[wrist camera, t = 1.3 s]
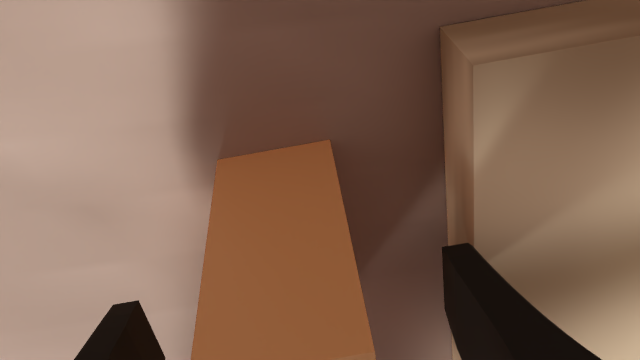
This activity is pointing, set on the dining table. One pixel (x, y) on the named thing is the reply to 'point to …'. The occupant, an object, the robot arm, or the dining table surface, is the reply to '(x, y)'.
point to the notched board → (551, 161)
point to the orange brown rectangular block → (280, 263)
